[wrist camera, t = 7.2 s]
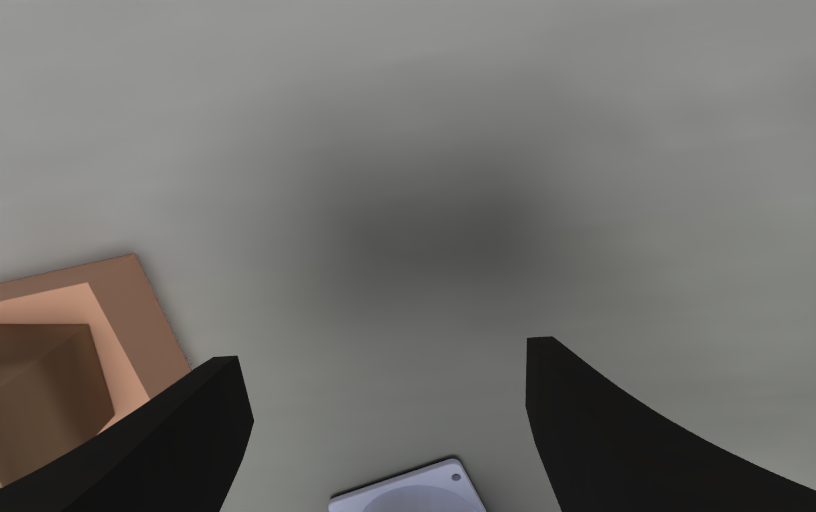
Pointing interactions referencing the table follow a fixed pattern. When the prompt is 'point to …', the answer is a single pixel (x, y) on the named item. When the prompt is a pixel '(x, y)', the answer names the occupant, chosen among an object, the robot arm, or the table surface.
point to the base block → (106, 324)
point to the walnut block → (47, 395)
